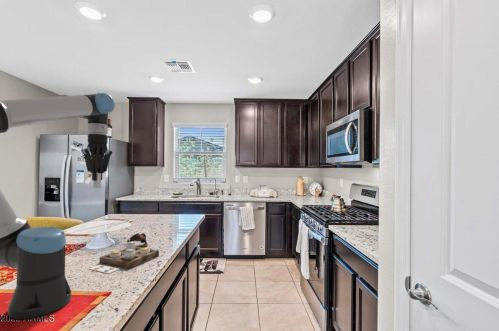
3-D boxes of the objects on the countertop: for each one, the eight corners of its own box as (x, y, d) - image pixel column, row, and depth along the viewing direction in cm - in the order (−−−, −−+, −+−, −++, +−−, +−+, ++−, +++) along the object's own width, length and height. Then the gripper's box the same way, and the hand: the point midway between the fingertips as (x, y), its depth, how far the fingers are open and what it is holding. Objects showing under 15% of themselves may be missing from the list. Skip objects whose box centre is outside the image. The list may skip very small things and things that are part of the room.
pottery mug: (144, 250, 134) (136, 237, 133) (130, 257, 136) (121, 245, 134) (153, 238, 146) (145, 226, 144) (140, 244, 147) (132, 233, 145)
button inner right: (129, 260, 111) (129, 252, 111) (121, 258, 112) (122, 250, 112) (137, 257, 115) (137, 249, 115) (130, 255, 116) (130, 248, 116)
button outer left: (130, 251, 122) (130, 244, 123) (124, 250, 124) (124, 243, 124) (137, 248, 127) (138, 241, 127) (131, 247, 128) (131, 240, 128)
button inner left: (114, 262, 114) (114, 254, 114) (107, 260, 116) (107, 252, 116) (122, 258, 118) (122, 251, 118) (115, 257, 120) (116, 250, 120)
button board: (128, 268, 108) (128, 262, 108) (99, 262, 115) (99, 257, 115) (158, 255, 124) (158, 250, 124) (131, 250, 131) (131, 246, 131)
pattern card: (109, 273, 102) (109, 272, 102) (88, 269, 107) (88, 268, 107) (119, 269, 107) (119, 268, 107) (99, 265, 112) (99, 264, 112)
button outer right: (144, 258, 119) (144, 250, 119) (137, 257, 121) (137, 249, 121) (151, 255, 123) (151, 247, 123) (144, 254, 125) (144, 246, 125)
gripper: (89, 131, 103) (88, 189, 103) (116, 135, 115) (116, 187, 115) (77, 132, 106) (76, 188, 106) (105, 136, 118) (104, 187, 118)
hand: (97, 188), depth 110 cm, fingers closed
